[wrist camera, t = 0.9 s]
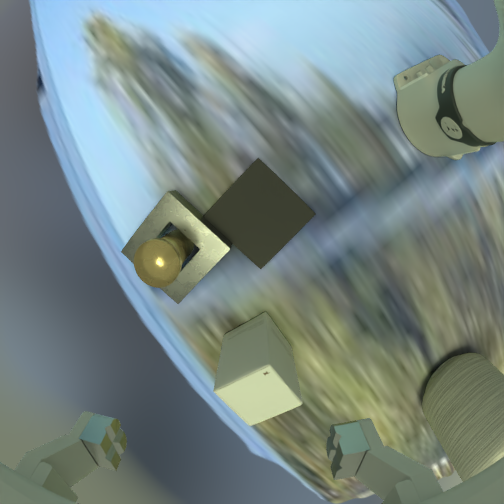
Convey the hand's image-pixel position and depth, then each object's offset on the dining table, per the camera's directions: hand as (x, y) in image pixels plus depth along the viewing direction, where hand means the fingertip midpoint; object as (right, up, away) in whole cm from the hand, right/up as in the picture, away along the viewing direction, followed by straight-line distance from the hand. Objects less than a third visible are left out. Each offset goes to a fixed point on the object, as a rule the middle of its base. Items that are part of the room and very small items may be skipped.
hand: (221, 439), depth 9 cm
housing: (-10, +8, +35) cm, 37 cm away
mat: (+2, +13, +34) cm, 36 cm away
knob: (-10, +8, +35) cm, 37 cm away
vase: (+49, -24, +43) cm, 69 cm away
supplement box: (+2, -9, +39) cm, 40 cm away
